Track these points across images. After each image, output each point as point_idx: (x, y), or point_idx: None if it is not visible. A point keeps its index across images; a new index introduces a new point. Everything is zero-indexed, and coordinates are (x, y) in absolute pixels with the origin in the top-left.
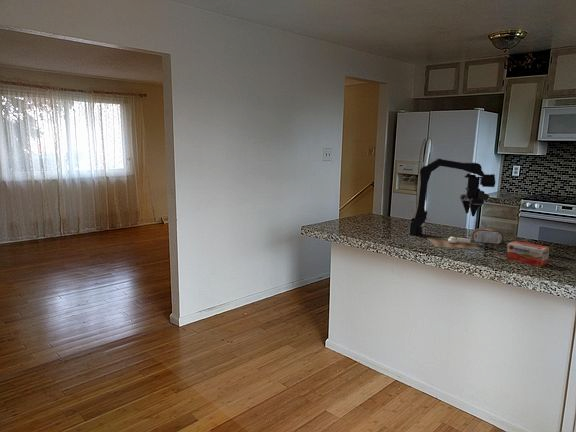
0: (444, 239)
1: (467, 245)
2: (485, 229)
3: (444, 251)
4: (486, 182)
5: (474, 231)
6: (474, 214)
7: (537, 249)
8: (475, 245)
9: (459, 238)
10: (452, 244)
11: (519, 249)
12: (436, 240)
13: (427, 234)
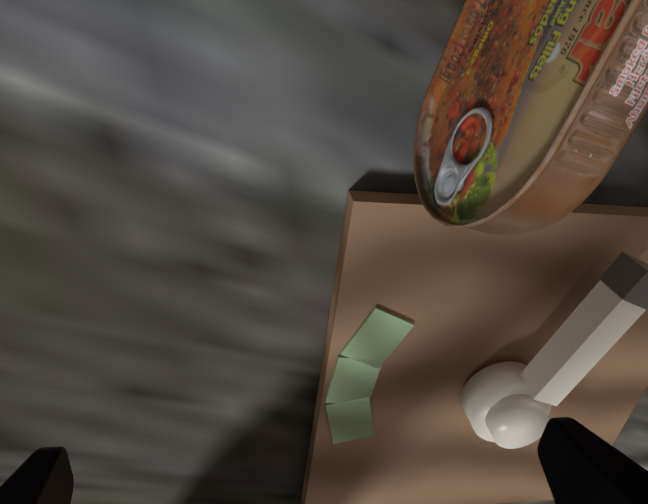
0: (371, 418)
1: None
2: (628, 89)
3: (636, 446)
4: None
5: (508, 232)
6: (619, 465)
7: None
8: (625, 225)
9: (572, 388)
10: None
11: None
12: (404, 471)
13: (75, 472)
